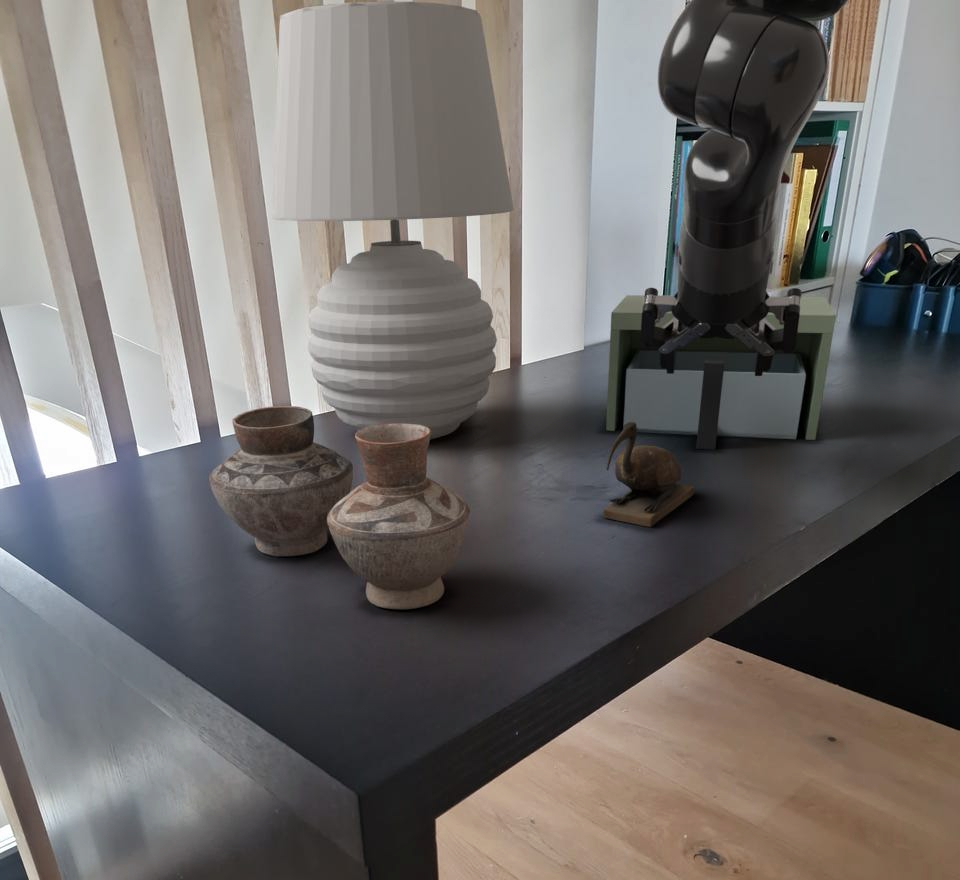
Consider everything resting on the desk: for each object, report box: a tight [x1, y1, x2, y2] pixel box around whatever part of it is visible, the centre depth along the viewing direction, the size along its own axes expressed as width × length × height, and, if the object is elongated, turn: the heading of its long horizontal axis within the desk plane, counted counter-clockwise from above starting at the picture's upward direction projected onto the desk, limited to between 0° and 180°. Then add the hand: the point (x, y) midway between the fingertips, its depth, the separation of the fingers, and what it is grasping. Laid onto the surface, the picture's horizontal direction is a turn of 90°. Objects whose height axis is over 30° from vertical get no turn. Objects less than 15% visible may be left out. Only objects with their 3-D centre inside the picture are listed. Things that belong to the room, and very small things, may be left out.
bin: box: [622, 350, 806, 451], centre depth 97 cm, size 18×19×9 cm
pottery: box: [208, 405, 471, 610], centre depth 64 cm, size 11×25×12 cm, turn 46°
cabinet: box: [605, 294, 837, 441], centre depth 99 cm, size 14×23×13 cm, turn 75°
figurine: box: [603, 422, 695, 528], centre depth 74 cm, size 14×4×9 cm, turn 146°
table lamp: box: [272, 1, 514, 441], centre depth 92 cm, size 25×25×40 cm
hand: (714, 367), depth 86 cm, fingers open, 8 cm apart
